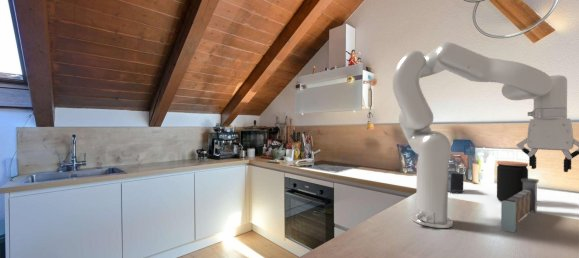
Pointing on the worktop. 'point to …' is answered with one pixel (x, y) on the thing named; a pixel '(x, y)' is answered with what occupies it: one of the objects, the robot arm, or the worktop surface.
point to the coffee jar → (510, 178)
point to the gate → (522, 203)
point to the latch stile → (508, 216)
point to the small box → (455, 182)
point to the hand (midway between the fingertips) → (549, 169)
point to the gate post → (531, 185)
